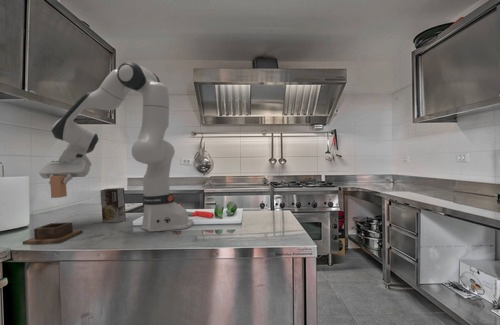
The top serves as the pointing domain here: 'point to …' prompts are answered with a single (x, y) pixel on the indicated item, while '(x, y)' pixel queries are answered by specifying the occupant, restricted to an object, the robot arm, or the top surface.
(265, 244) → the top surface
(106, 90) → the robot arm
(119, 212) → the coffee box
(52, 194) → the block
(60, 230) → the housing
